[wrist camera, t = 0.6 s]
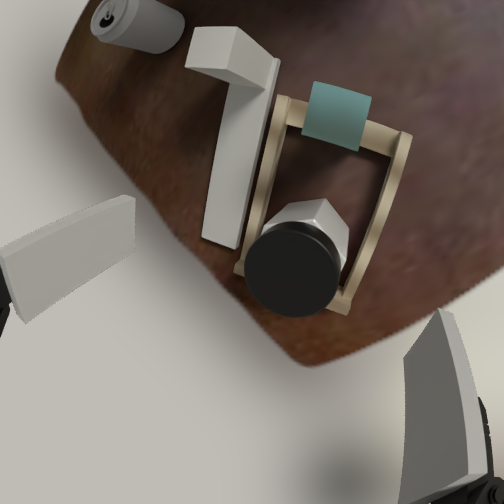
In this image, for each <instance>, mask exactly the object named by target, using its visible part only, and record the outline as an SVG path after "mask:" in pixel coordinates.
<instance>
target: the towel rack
mask: <svg viewBox="0 0 504 504" xmlns="http://www.w3.org/2000/svg"><path fill="white" fill-rule="evenodd" d="M371 99H372V97H369V96H366V95H363V94H360V93H357V92H354V91H350V90H347V89H343V88H340V87H336V86H332V85H328V84H324V83H320V82H316V81H314V83H313V88H312V92H311V96H310V100H309V103H308V102H304V101H300V100H295V99H291V98H290V97H288V96H283V95H277V100H276V104H275V108H274V112H273V117H272V121H271V125H270V129H269V134H268V138H267V142H266V147H265V151H264V155H263V160H262V164H261V168H260V173H259V177H258V182H257V186H256V190H255V195H254V199H253V204H252V208H251V213H250V217H249V221H248V226H247V230H246V235H245V239H244V244H243V249H242V253H241V258H240V260H239V261H238V262H237V263H236V264H235V267H234V271H233V273H236V274H238V275H241V276H243V277H245V276H244V261H245V257H246V254H247V252H248V250H249V248H250V247H251V245H252V244H253V243H254V242H255V241H256V240H257V239H258V238H259V237H260V236H261V232H262V228H263V224H264V220H265V216H266V212H267V207H268V203H269V199H270V195H271V191H272V187H273V183H274V179H275V175H276V171H277V167H278V163H279V158H280V154H281V150H282V146H283V142H284V138H285V134H286V130H287V126H288V125H292V126H296V127H299V128H303V129H302V133H301V134H302V135H306V136H309V137H313V138H316V139H320V140H323V141H326V142H330V143H333V144H336V145H339V146H342V147H345V148H348V149H351V150H354V151H357V152H358V149H359V146H362V147H365V148H368V149H370V150H373V151H376V152H378V153H381V154H384V155H386V156H389V157H391V161H390V164H389V167H388V171H387V174H386V177H385V180H384V183H383V186H382V189H381V192H380V195H379V198H378V201H377V204H376V207H375V210H374V213H373V215H372V218H371V221H370V224H369V226H368V229H367V231H366V234H365V237H364V239H363V242H362V244H361V247H360V249H359V252H358V254H357V257H356V259H355V262H354V264H353V266H352V269H351V271H350V274H349V276H348V278H347V280H346V283H345V285H344V287H341V286H338V289H337V292H336V294H335V296H334V298H333V300H332V301H331V302H330V304H329V305H328V306H327V307H325V308H327V309H330V310H332V311H335V312H338V313H341V314H343V315H346V316H347V314H348V312H349V310H350V308H351V300H352V298H353V296H354V294H355V291H356V289H357V287H358V285H359V283H360V281H361V279H362V276H363V274H364V272H365V270H366V267H367V265H368V263H369V260H370V258H371V256H372V253H373V251H374V249H375V246H376V244H377V241H378V239H379V236H380V234H381V231H382V229H383V226H384V224H385V221H386V218H387V216H388V213H389V210H390V207H391V205H392V202H393V199H394V196H395V193H396V190H397V187H398V184H399V181H400V178H401V175H402V172H403V168H404V165H405V162H406V158H407V155H408V152H409V148H410V144H411V141H412V137H413V136H412V135H410V134H407V133H405V132H403V131H401V132H399V131H396V130H394V129H391V128H389V127H386V126H383V125H381V124H378V123H375V122H372V121H369V120H366V119H367V115H368V111H369V107H370V103H371Z"/></svg>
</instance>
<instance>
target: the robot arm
mask: <svg viewBox="0 0 504 504" xmlns="http://www.w3.org/2000/svg"><path fill="white" fill-rule="evenodd" d="M135 204H136V199H135V198H133V197H131V196H127V195H121V196H118V197H115V198H113V199H110V200H107V201H104V202H102V203H99V204H97V205H94V206H91V207H89V208H86V209H84V210H81V211H79V212H76V213H74V214H72V215H69V216H67V217H65V218H62V219H60V220H57V221H56V222H53V223H51V224H49V225H47V226H44V227H42V228H40V229H38V230H35V231H33V232H31V233H29V234H27V235H25V236H23V237H21V238H19V239H17V240H15V241H13V242H11V243H9V244H7V245H5V246H3V247H1V248H0V337H1V334H2V332H3V329H4V326H5V323H6V321H7V318H8V316H9V312H10V307H9V303H11V302H12V303H13V305H14V308H15V311H16V313H17V315H18V316H19V317H20V318H21V320H22V321H23V322H24V323H25V324H27V323H28V322H29V321H31V320H32V319H33V318H35V317H36V316H37V315H39V314H40V313H42V312H43V311H45V310H46V309H48V308H49V307H50V306H51V305H53V304H55V303H56V302H58V301H59V300H61V299H62V298H63V297H65V296H66V295H68V294H69V293H71V292H72V291H73V290H75V289H77V288H78V287H80V286H81V285H83V284H84V283H86V282H88V281H89V280H91V279H92V278H94V277H95V276H97V275H98V274H100V273H102V272H103V271H105V270H106V269H108V268H109V267H111V266H113V265H114V264H116V263H117V262H119V261H121V260H122V259H124V258H125V257H127V256H129V255H130V254H132V253H134V252H135ZM403 359H404V374H405V442H404V457H403V468H402V478H401V486H400V493H399V500H398V504H428V503H431V504H504V480H503V479H501V478H500V477H494V470H493V457H492V447H491V439H490V436H489V434H490V431H489V426H488V425H487V424H488V419H487V414H486V409H485V407H484V405H483V403H482V401H481V399H480V397H477V392H476V388H475V384H474V379H473V376H472V372H471V368H470V365H469V361H468V358H467V354H466V351H465V348H464V345H463V342H462V339H461V335H460V333H459V330H458V327H457V324H456V322H455V319H454V316H453V314H452V313H450V312H448V311H445V310H443V309H440V308H438V309H437V310H436V312H435V313H434V315H433V317H432V318H431V320H430V321H429V323H428V324H427V326H426V327H425V329H424V330H423V332H422V333H421V335H420V336H419V337H418V339H417V340H416V342H415V343H414V344H413V346H412V347H411V349H410V350H409V351H408V353H407V354H406V355H405V357H404V358H403Z"/></svg>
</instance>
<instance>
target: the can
mask: <svg viewBox="0 0 504 504" xmlns="http://www.w3.org/2000/svg"><path fill="white" fill-rule="evenodd" d="M184 27H185V20H184V17H183V15H182V14H181V13H179V12H178V11H176V10H174V9H172V8H170V7H168V6H166V5H164V4H162V3H160V2H158V1H156V0H103V1H102V2H101V3H100V5H99V6H98V7H97V9H96V11H95V13H94V15H93V17H92V20H91V32H92V33H93V35H94V36H97V38H98V39H99V40H100V41H101V42H105V43H110V44H115V45H120V46H124V47H129V48H133V49H137V50H141V51H145V52H149V53H153V54H159V53H162V52H165V51H167V50H168V49H170V48H171V47H173V46H174V45H175V44H176V42H177V41H178V40H179V39H180V37H181V35H182V33H183V30H184Z"/></svg>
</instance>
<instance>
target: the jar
mask: <svg viewBox="0 0 504 504" xmlns="http://www.w3.org/2000/svg"><path fill="white" fill-rule="evenodd" d="M348 238H349V228H348V226H347V225H346V224H345V222H344V221H343V220H342V218H341V217H340V216H339V215H338V213H337V212H336V211H335V210H334V208H333V207H332V206H331V204H330V203H329V202H328V201H327V199H316V200H309V201H301V202H294V203H288V204H287V205H286V206H285V207H284V208H283V209H282V210H281V211H279V212H278V213H277V214H276V215H275V216H274V217H273V218H272V219H271V220H270V221H268V222H267V223H266V224H265V225H264V227H263V230H262V233H261V236H260V237H259V238H258V239H257V240H256V241H255V242H254V243H253V244H252V245H251V247H250V248H249V250H248V252H247V254H246V257H245V261H244V276H245V281H246V283H247V286H248V288H249V290H250V292H251V293H252V295H253V296H254V297H255V299H256V300H257V301H258V302H259V303H260V304H261V305H262V306H264V307H265V308H267V309H268V310H270V311H272V312H274V313H276V314H279V315H281V316H285V317H293V318H300V317H307V316H311V315H314V314H316V313H318V312H320V311H321V310H323V309H324V308H325V307H327V306H328V305H329V304H330V302H331V301H332V300H333V298H334V296H335V294H336V292H337V289H338V286H339V280H340V274H341V270H342V268H343V266H344V264H345V262H346V257H347V248H348Z"/></svg>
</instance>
